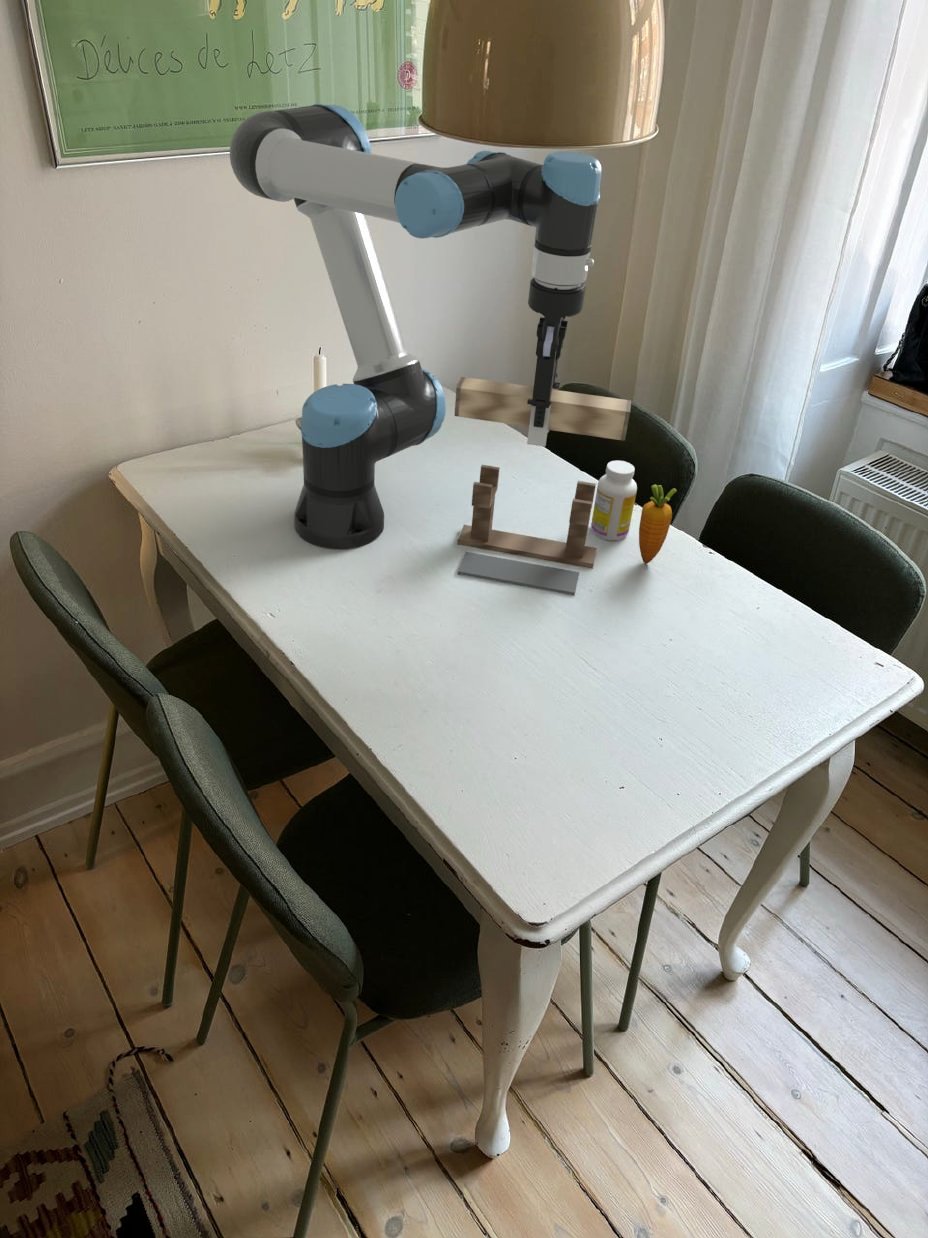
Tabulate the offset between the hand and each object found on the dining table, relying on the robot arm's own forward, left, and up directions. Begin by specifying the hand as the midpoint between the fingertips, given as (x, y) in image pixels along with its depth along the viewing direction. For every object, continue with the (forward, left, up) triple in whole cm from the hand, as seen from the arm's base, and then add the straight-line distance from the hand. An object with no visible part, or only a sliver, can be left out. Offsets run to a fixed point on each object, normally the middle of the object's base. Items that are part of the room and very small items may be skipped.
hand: (538, 436), depth 145 cm
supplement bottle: (+13, +16, -24) cm, 31 cm away
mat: (0, -2, -24) cm, 24 cm away
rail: (0, 0, +2) cm, 2 cm away
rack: (0, +6, -24) cm, 24 cm away
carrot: (+20, +8, -24) cm, 32 cm away
